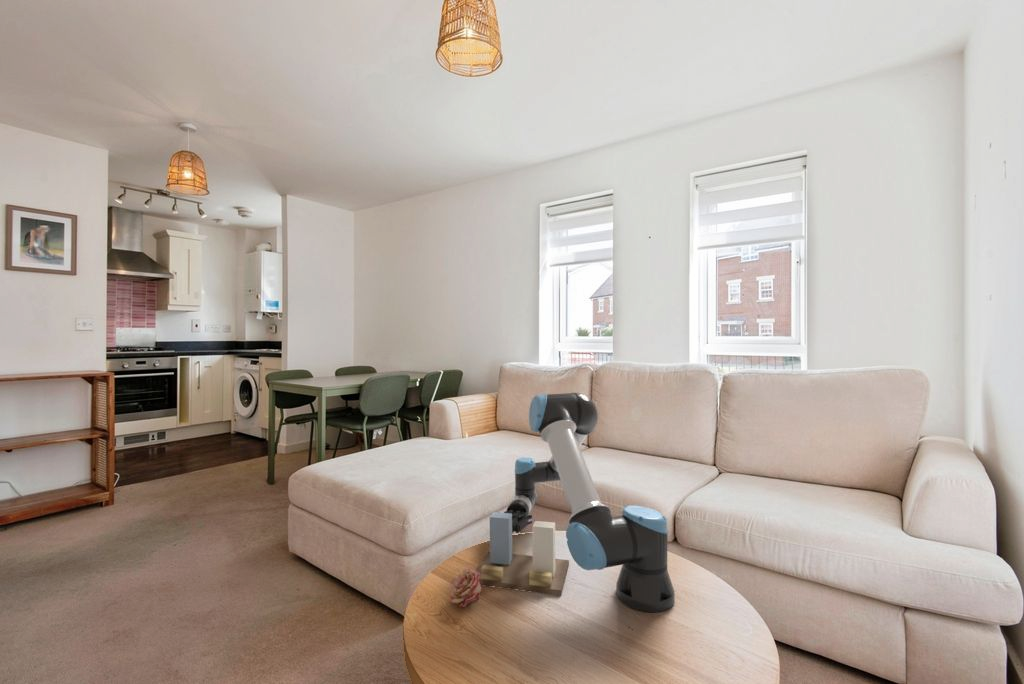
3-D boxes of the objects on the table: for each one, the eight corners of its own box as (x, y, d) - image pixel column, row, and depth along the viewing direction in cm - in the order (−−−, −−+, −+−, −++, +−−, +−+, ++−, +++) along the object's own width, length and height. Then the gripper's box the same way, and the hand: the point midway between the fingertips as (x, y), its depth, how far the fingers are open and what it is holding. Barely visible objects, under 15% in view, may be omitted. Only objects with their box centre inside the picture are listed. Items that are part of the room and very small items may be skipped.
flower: (478, 581, 128) (462, 561, 126) (498, 587, 121) (481, 567, 119) (457, 613, 123) (439, 593, 121) (476, 622, 116) (458, 601, 114)
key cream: (555, 569, 134) (555, 522, 134) (553, 577, 130) (553, 528, 130) (535, 567, 135) (535, 520, 135) (532, 574, 131) (532, 526, 131)
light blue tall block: (512, 558, 141) (512, 513, 141) (509, 565, 137) (508, 518, 137) (493, 556, 143) (493, 511, 142) (490, 562, 138) (489, 516, 138)
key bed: (568, 565, 140) (568, 550, 140) (561, 595, 124) (561, 579, 124) (487, 555, 147) (487, 542, 146) (470, 584, 130) (470, 568, 130)
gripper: (536, 521, 163) (522, 552, 140) (501, 518, 166) (481, 547, 144) (536, 500, 163) (522, 527, 140) (501, 497, 166) (481, 523, 143)
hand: (501, 537), depth 142 cm, fingers closed
